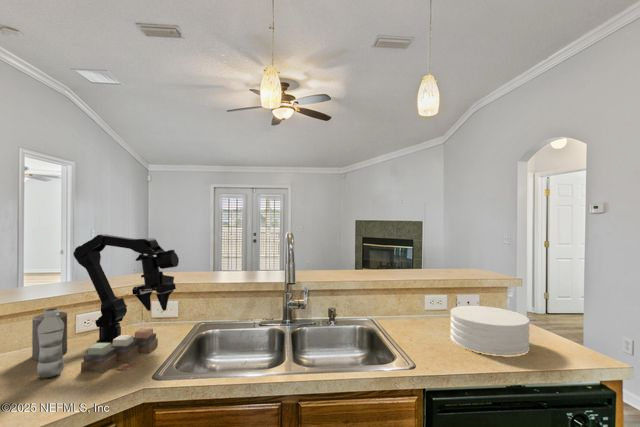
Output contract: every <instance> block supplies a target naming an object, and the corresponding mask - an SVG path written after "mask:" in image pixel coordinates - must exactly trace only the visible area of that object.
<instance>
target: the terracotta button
mask: <svg viewBox="0 0 640 427" xmlns="http://www.w3.org/2000/svg"><path fill="white" fill-rule="evenodd" d="M153 333H154V328H151V327H150V328H145V327H144V328H143V327H142V328H139V329H137V330H136V331H135V332H134V337H135V338H149V337H150V336H152V335H153Z"/></svg>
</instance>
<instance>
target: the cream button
mask: <svg viewBox="0 0 640 427" xmlns="http://www.w3.org/2000/svg"><path fill="white" fill-rule="evenodd" d="M133 337H134V335H133V334H131V335H130V334H129V335H127V334H125V335H124V334H121V335H120V336H118V337H117V338H115V339H113V342H112V344H113V346H128V345H129V344H131V343H132V342H133Z"/></svg>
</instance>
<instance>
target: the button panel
mask: <svg viewBox="0 0 640 427" xmlns="http://www.w3.org/2000/svg"><path fill="white" fill-rule="evenodd" d="M158 342H159V340H158V337H157V333H155V332H153V335H152V336H150V337H149V338H135V336H133V342H132V343H131V344H129V345H128V346H113V343H111V350H110V351H108V352H107V353H105V354H103V355H88V352H87V353H85V354H84V355H83V361H81V362H80V372H81V373H105V372H106V371H108V370H109V369H111V367H113V366H114V365H115V364H117V363H123V364H121V365H120V366H118V367H117V368H116V371H130V370H132V369H133V367H135V366H136V363H129V362H130V361H131V360H133V359H134V358H135V357H136V356H138V355H139V354H151V353H152V352H153V351H155V349H156V348H158V346H159V343H158Z"/></svg>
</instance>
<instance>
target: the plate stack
mask: <svg viewBox="0 0 640 427" xmlns="http://www.w3.org/2000/svg"><path fill="white" fill-rule="evenodd" d="M449 330H450V336H449V337H450V338H451V339H450V338H449V339H450V341H451V340H452V341H453V342H455V343H456V344H458V345H460V346H462V347H465V348H468V349H471V350H475V351H479V352H483V353H489V354H496V355H517V354H522V353H525V352H527V351H528V350H529V351H530V319H529V317H527V316H526V315H524V314H522V313H520V312H516V311H513V310H509V309H505V308H499V307H493V306H484V305H462V306H461V305H460V306H455V307H452V308H451V309H450V329H449ZM452 341H451V342H452Z"/></svg>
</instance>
